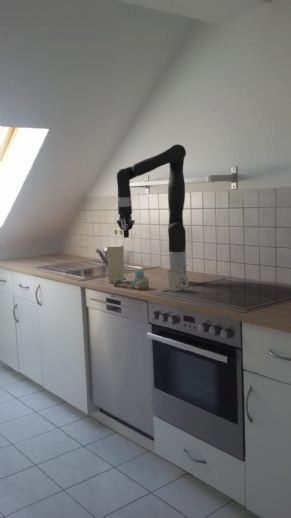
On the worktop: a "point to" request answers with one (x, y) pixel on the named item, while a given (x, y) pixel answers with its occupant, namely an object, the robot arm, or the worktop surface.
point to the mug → (176, 280)
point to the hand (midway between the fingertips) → (126, 237)
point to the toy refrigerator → (115, 262)
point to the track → (123, 283)
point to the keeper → (137, 276)
